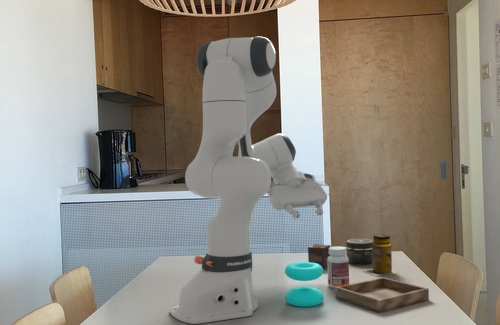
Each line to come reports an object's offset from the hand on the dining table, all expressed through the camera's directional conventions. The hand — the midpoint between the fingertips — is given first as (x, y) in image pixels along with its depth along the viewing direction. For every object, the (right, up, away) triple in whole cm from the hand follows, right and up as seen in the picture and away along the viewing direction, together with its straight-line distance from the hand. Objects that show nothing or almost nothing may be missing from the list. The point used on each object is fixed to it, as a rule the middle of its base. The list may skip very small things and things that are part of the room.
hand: (309, 215), depth 165 cm
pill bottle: (+7, -20, -11) cm, 24 cm away
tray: (+16, -20, -25) cm, 36 cm away
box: (+5, -19, +15) cm, 25 cm away
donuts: (-4, -21, -26) cm, 34 cm away
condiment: (+23, -19, +5) cm, 31 cm away
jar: (+21, -19, +21) cm, 35 cm away
